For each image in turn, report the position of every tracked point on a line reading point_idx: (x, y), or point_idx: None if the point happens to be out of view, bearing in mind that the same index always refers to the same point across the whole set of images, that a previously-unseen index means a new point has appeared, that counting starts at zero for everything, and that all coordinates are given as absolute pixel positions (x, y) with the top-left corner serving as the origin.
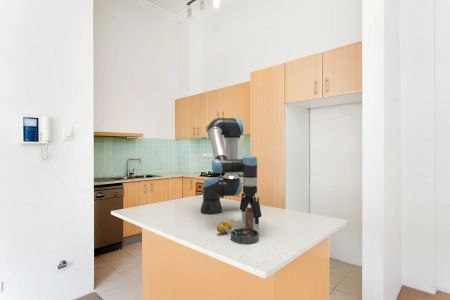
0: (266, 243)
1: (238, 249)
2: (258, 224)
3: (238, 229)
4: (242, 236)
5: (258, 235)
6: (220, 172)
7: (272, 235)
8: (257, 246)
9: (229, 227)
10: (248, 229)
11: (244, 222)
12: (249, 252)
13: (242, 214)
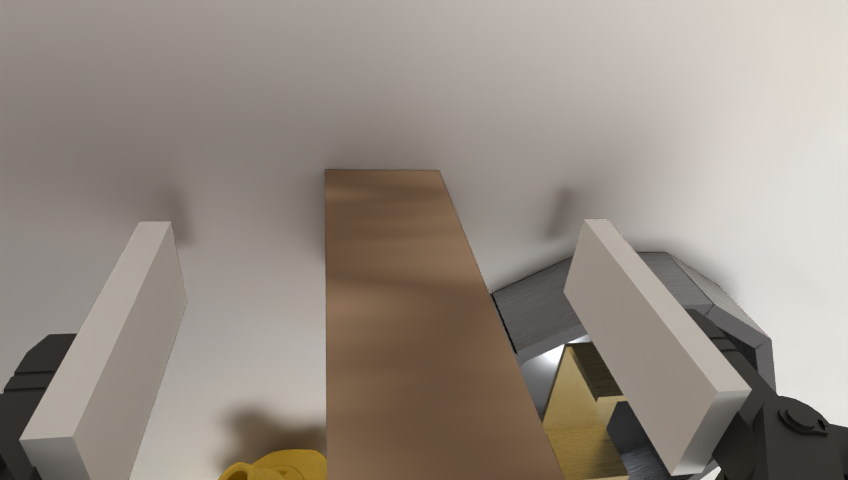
0: (828, 252)
1: (709, 473)
2: (653, 277)
3: None
4: (556, 402)
5: (761, 330)
6: None
7: (751, 8)
8: (793, 352)
9: None
10: (526, 352)
11: (175, 285)
12: None
13: (130, 468)
